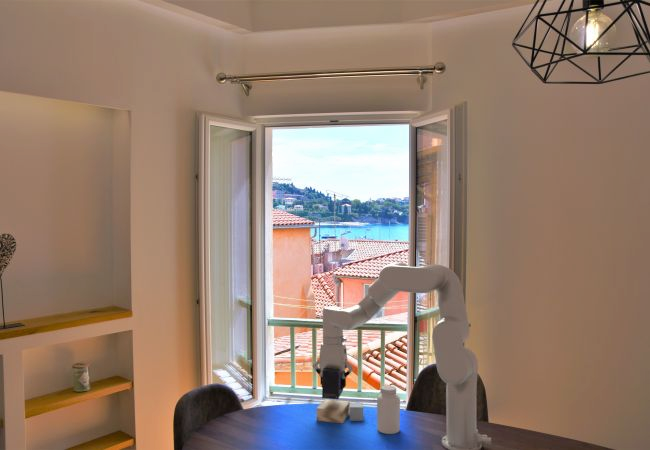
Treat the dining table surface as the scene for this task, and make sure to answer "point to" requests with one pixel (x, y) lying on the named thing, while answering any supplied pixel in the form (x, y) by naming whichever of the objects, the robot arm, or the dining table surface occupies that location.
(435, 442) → the dining table surface
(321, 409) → the beech plinth
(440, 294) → the robot arm
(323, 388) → the small box
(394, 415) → the pill bottle
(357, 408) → the slate cube
